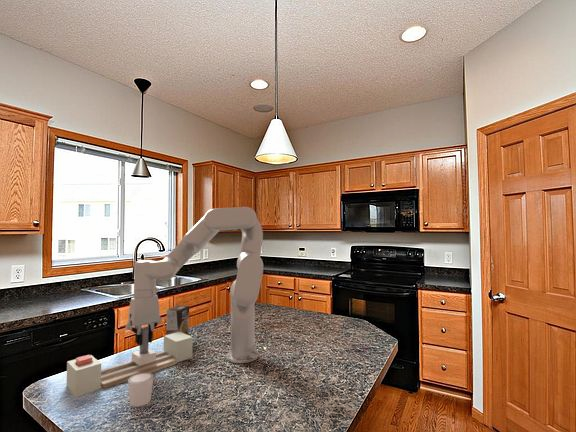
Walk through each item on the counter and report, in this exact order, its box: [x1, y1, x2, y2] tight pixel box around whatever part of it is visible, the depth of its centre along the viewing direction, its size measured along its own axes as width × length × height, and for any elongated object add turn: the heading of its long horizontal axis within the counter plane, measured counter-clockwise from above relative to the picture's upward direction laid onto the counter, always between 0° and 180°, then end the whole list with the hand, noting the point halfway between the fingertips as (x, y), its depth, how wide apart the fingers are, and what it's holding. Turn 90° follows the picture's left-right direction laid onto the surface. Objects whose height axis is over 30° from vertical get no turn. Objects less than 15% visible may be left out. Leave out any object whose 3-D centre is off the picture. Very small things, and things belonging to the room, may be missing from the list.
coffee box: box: [165, 305, 190, 336], centre depth 140 cm, size 9×6×16 cm
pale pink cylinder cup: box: [127, 373, 154, 408], centre depth 93 cm, size 7×7×7 cm
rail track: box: [101, 350, 177, 390], centre depth 113 cm, size 12×25×2 cm, turn 138°
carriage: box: [131, 326, 157, 366], centre depth 116 cm, size 7×6×12 cm
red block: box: [75, 354, 92, 367], centre depth 101 cm, size 4×4×4 cm
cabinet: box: [163, 332, 194, 364], centre depth 126 cm, size 10×7×8 cm
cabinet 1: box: [66, 354, 102, 398], centre depth 101 cm, size 10×7×8 cm
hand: (144, 342), depth 116 cm, fingers closed on carriage, 3 cm apart
